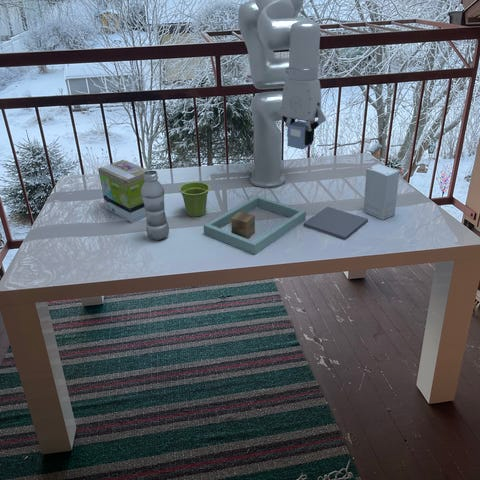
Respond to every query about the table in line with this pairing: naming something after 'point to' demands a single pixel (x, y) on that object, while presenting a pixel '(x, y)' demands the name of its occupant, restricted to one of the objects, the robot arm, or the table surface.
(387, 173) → the skincare box
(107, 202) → the tea box
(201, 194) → the plant pot
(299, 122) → the slate box
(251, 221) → the walnut block
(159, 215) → the plastic bottle
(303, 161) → the table surface
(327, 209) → the mat
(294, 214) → the tray
